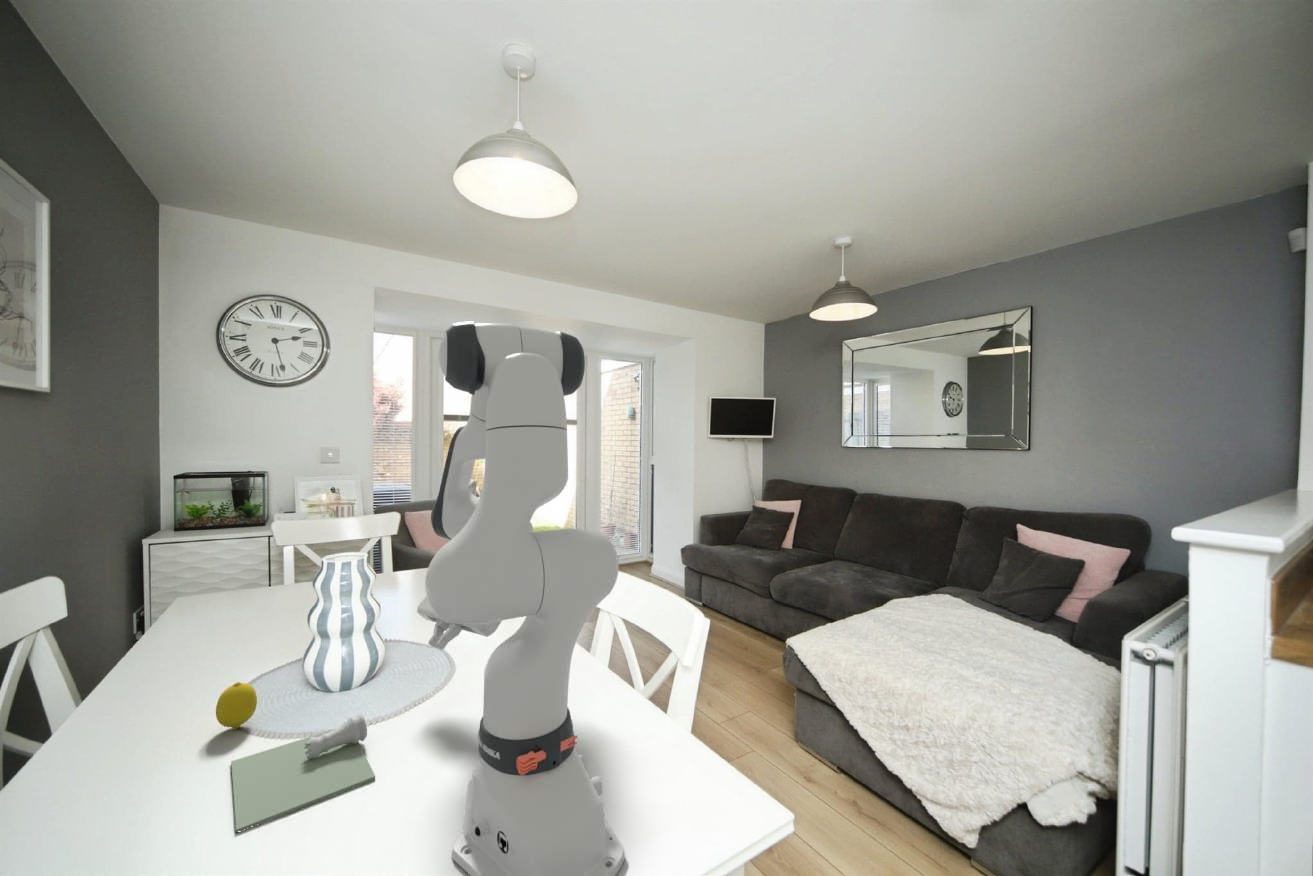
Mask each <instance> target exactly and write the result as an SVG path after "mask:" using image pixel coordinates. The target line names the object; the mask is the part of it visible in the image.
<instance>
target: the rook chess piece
mask: <svg viewBox="0 0 1313 876" xmlns="http://www.w3.org/2000/svg"><path fill="white" fill-rule="evenodd" d="M334 729H335V730H333V729H332V730H333V731H331V732H329V733H327V734H323V735H322V736H320V737H318V738H316V737H311V736H310V737H311V739H310V740H309V741H307V742H305V749H307V748H308V751H306V752H305V753H306V755H307V754H308V756H307V759H310V758H317V757H318V756H319V755H320V753H322V752H327V751H328V750H329V749H331V748H334V747H337V746H340V745H343V744H350V743H352V744H357V743H358V742H360V741H362V742H364V741H365V740H366V738H367V736H368V727H367V722H366V719H365V717H364V715H363V714H361V713H356V715H355V716H350V717H348V718H347V720H346V721H345V722H343V723H342V724H341V725H340V726H339V727H337V729H336V728H334Z"/></svg>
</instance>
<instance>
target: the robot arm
mask: <svg viewBox="0 0 1313 876" xmlns="http://www.w3.org/2000/svg"><path fill="white" fill-rule="evenodd" d="M438 362H439V366H440V369H441V372H442V374H443V376H444V380H445V381H446V382H447V384H449V385H450V386H451V387H452V388H453V389H456V390H459V391H461V392H466V393H468V394H469V395H471V400H470V409H469V417H468V420H467V423H465V424H462V425H461V426H459V427H458V428H457V429H456V431H455V432H454V434H453V436H452V437H451V440H450V443H449V447H448V451H447V454H446V457H445V458H446V459H445V462H444V468H443V473H442V476H441V477H442V478H441V482H440V487H439V490H438V495H437V497H436V500H435V502H434V505H433V506H432V509H431V513H430V522H431V526H432V529H433V531H434V533H435V535H436V536H438V537H440V538H442V539H443V538H444V539H446V540H449V541H447V543H445V544H444V545H443V546H442V547H440V549H439V550H438V551H437V552H436V553H435V555H434V556H433V558H432V559H431V561H430V563H429V564H428V568H427V570H426V574H425V578H424V579H425V581H424V582H425V583H424V586H425V588H424V590H425V597H424V598H423V599H422V600H421V601H420V603H419V604H418V605H417V609H416V612H417V613H418V615H419V616H421V617H422V618H423V619H425V620H426V621H430V622H434V623H435V624H434V629H433V633H432V635H431V638H429V640H428V643H427V644H428V645H429V646H431V648H436V649H439V650H441V651H442V650H444V649H445V648H446V646H447V645H448V644H449V642H451V641H453V640H454V639H455V638H456V637H457V636H459V635H460V633H461V632H462V631H465V632H469V633H471V634H472V633H473V634H475V635H480V636H483V637H487V638H488V637H490V636H492V634H494V633H495V632H496V631H497V630H498V628H499V626H500V625H501V623H502V621H506V620H512V619H513V620H514V619H517V618H524V617H525V618H524V621H523V622H522V624H521V625H520V627H519V628H518V629H517V630H516V631H515V632H514V633H513V634H512V635H511V636H509V637H508V638H506V640H504V641H503V642H501V643H500V644H499V645H498V646H497V647H495V649H494V650H493V652H491V654H490V657H488V660H487V663H486V665H485V668H484V674H483V676H484V679H483V680H484V681H483V710H482V711H483V714H482V716H481V719H480V721H479V722H480V723H479V729H478V734H477V736H478V737H477V741H478V753H479V758H478V761H477V763H476V766H475V768H474V769H473V772H472V773H471V775H470V777H469V779H468V782H467V786H466V787H467V788H466V798H465V808H464V817H463V818H464V819H463V828H462V833H461V834H460V835H459V836H458V838H457V839H456V840H455V842H454V843H453V845H452V851H451V859H453V861H454V862H456V863H457V865H459V866H460V868H462V870H464V872H466V873H467V874H468V875H469V876H616V875H617V874H618V872H619V871H620V869H621V867H622V866H623V863H624V862H625V861H624V860H625V849H624V847H623V845H622V843H621V842H620V839H619V838H618V837H617V835H616V833H615V832H614V830H613V829H612V827H611V826H610V824H609V822H608V821H607V820H606V818H605V812H604V807H603V803H602V799H600V797H601V796H602V795H603V785H602V781H601V779H600V777H599V776H598V775H597V776H596V775H595V776H592V777H590V776H589V772H588V771H587V769H586V766H585V758H584V755H583V754H578V752H577V749H576V747H575V746H576V745H578V742H577V741H576V739H578V735H575V732H574V723H573V720H572V716H571V711H570V709H569V707H568V705H569V704H568V702H569V701H568V699H569V698H568V697H569V683H570V671H571V663H572V656H573V653H574V649H575V646H576V643H577V641H578V639H579V636H580V634H581V632H582V630H583V628H584V625H585V624H586V622H587V621H588V619H589V617H590V616H591V614H592V613H593V611H594V610H595V609H596V608H597V606H599V604H601V602H602V601H603V600H604V599H605V598H607V596H609V595H610V594H611V593H612V590H613V589H614V587H615V585H616V583H617V580H618V576H619V566H620V565H619V558H618V557H619V556H618V554H617V550H616V548H615V546H614V544H613V543H612V541H611V540H610V538H609V537H608V536H607V535H606V534H605V533H603V532H599V531H594V530H587V529H579V528H563V529H551V530H540V531H539V530H538V531H534V527H533V524H532V523H531V520H532V517H533V516H534V514H535V513H536V511H537V510H538V509H539V508H540V507H542V506H544V505H546V504H547V503H549V502H551V501H552V500H554V499H555V498H557V497H558V496H559V495H560V494H561V493H562V492H563V491H564V489H565V487H566V486H567V483H568V481H569V461H568V460H569V459H568V458H569V456H568V455H569V453H568V452H569V451H568V449H569V447H568V423H567V411H566V409H567V408H566V404H565V402H566V401H565V397H566V396H569V395H572V394H574V393H575V392H576V391H577V390H578V389H579V388H580V387H581V386H582V383H583V379H584V375H585V371H586V359H585V351H584V348H583V344H581V343H580V340H579V339H578V338H577V337H575V336H573V335H572V334H569V333H566V332H562V331H555V332H553V331H548V330H544V329H539V328H534V327H527V326H520V325H518V324H511V323H475V322H474V321H463V322H456V323H452V324H451V325H450V326H449V327H448V328H447V329H446V330H445V334H444V336H443V338H442V339H441V341H440V344H439V348H438ZM478 460H485V461H484V475H483V483H482V488H481V489H482V490H481V493H480V497H478V496H476V495H475V494H474V493H472V490H470V484H471V479H472V475H473V472H474V467H475V463H476V461H478Z"/></svg>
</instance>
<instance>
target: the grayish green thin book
mask: <svg viewBox="0 0 1313 876" xmlns="http://www.w3.org/2000/svg"><path fill="white" fill-rule="evenodd" d="M337 728H338V727H337ZM337 728H334V729H331V730H327V731H323V732H320V733H318V734H315V735H311V736H308V737H305V738H301V739H299V740H294V741H291V742H289V743H286V744H282V745H280V746H276V747H274V748H273V747H272V748H270V749H267V750H264V751H260V752H257V753H253V754H250V755H247V756H244V757H241V758H237V759H234V760H231V761H230V762H231V763H230V766H231V768H232V769H231V779H232V781H233V783H232V794H233V795H234V797H233V806H234V807H233V808H234V810H235V811H234V821H235V822H236V825H235V833H236V832H238V831H242V830H244V829H247V828H249V829H251V828H250V827H251V826H254V827H257V826H258V825H257V824H260V823H262V822H265V823H267V822H269V821H268V820H270V821H272V820H275V819H277V818H279V817H283V816H285V815H287V814H291V813H292V812H296V811H298V810H300V809H303V808H305V807H308V806H311V805H313V804H316V803H319V802H321V801H323V800H327V799H329V798H332V797H334V796H336V795H339V794H342V793H344V792H347V791H350V790H351V789H355V788H358V787H360V786H362V785H365V784H367V783H370V782H373V781H374V780H376V775H375V773H374V771H373V769H372V766H371V764H370V763H369V761H368V759H367V757H366V755H365V752H364V750H363V748H362V746H361V745H360V741H358V743H357V744H352V743H350V744H343V745H340V746H337V747H334V748H331V749H329V750H328V751H327V752H322V753H320V755H319V756H318V757H317V758H310V759H307V756H308V754H307V755H306V753H305V752H306V751H308V748H307V749H305V742H307V741H309V740H310V739H311V737H316V738H318V737H320V736H322V735H323V734H327V733H329V732H331V731H333V730H335V729H337ZM271 819H272V820H271ZM266 821H267V822H266ZM235 822H234V823H235ZM262 824H263V823H262ZM256 825H257V826H256ZM260 825H261V824H260ZM247 830H248V829H247ZM244 831H245V830H244ZM242 832H243V831H242Z"/></svg>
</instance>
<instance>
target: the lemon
mask: <svg viewBox="0 0 1313 876" xmlns="http://www.w3.org/2000/svg"><path fill="white" fill-rule="evenodd" d="M257 705H258V697H257V693H256V690H255V688H254V686H252V685H251V684H248V683H245V682H240V681H237V682H235V683H234V684H233V685H231V686H229V687H227V688H226V689H225V690H224V691H223V692H222V693H221V694H220V695H219V697H218V700H217V703H216V707H215V716H216V720H217V722H218V724H220V725H221V726H223V727H224V728H225V727H226V728H232V729H233V730H236V729H239V728H240V726H242V725H243V724H245V723H246V722H248V721H249V720H250V719H251V718H252V716H253V715H254V713H255V712H256V709H257Z"/></svg>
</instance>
